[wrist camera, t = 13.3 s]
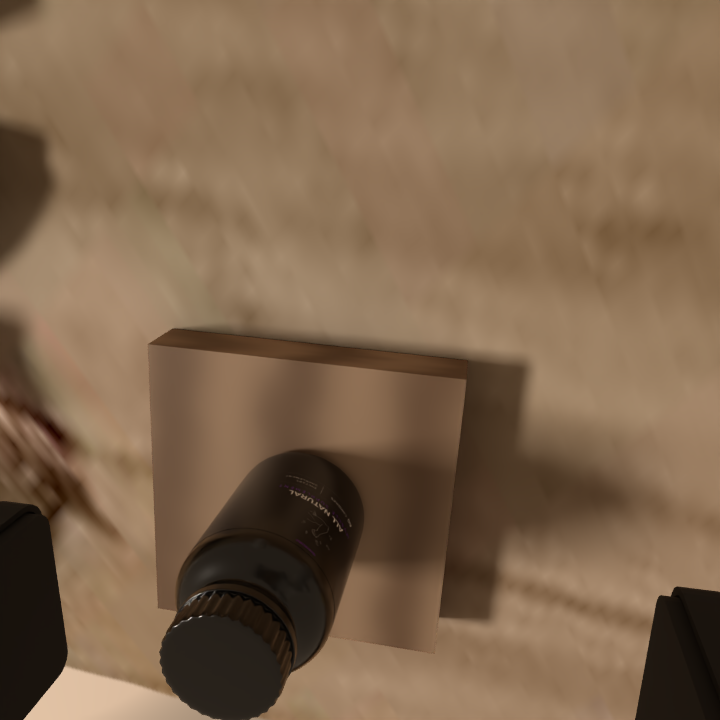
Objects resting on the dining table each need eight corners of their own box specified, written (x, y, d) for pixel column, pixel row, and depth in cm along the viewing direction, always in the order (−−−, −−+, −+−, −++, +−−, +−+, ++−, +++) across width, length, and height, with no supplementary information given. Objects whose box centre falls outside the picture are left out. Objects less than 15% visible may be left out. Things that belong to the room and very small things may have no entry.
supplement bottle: (368, 453, 35) (315, 606, 23) (364, 569, 37) (314, 760, 25) (237, 440, 36) (125, 581, 24) (240, 554, 38) (140, 732, 26)
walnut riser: (467, 360, 35) (466, 379, 33) (437, 617, 40) (434, 653, 38) (172, 328, 38) (147, 344, 35) (179, 576, 43) (158, 608, 40)
